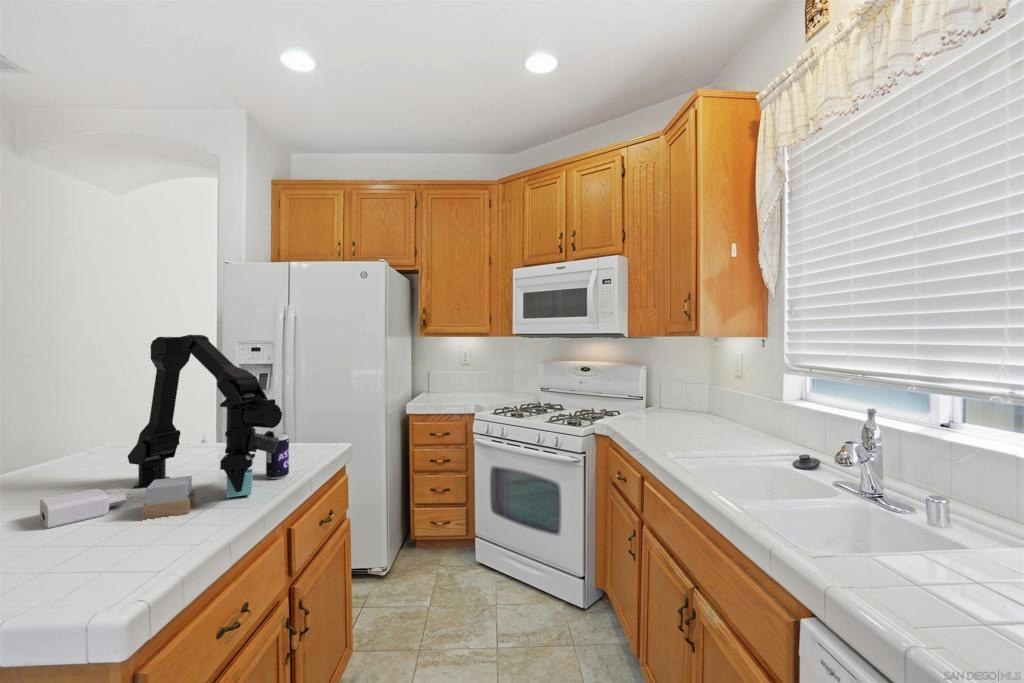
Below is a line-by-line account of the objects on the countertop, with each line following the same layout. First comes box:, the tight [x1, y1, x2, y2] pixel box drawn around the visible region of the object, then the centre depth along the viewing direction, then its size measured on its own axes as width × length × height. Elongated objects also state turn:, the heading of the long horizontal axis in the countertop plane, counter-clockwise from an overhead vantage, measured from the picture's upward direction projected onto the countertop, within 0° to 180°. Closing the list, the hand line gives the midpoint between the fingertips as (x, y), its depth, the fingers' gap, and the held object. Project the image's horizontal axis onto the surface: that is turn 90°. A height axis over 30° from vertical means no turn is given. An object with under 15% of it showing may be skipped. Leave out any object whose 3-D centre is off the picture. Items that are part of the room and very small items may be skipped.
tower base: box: [142, 489, 196, 521], centre depth 102 cm, size 8×8×4 cm
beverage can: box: [265, 432, 290, 480], centre depth 127 cm, size 6×6×12 cm
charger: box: [39, 488, 137, 529], centre depth 101 cm, size 5×9×15 cm
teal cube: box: [226, 468, 253, 498], centre depth 112 cm, size 5×5×5 cm
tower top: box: [145, 475, 193, 505], centre depth 102 cm, size 7×7×4 cm
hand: (239, 488), depth 112 cm, fingers closed on teal cube, 5 cm apart
